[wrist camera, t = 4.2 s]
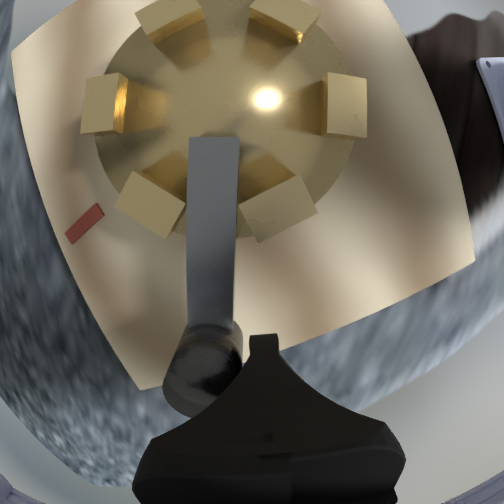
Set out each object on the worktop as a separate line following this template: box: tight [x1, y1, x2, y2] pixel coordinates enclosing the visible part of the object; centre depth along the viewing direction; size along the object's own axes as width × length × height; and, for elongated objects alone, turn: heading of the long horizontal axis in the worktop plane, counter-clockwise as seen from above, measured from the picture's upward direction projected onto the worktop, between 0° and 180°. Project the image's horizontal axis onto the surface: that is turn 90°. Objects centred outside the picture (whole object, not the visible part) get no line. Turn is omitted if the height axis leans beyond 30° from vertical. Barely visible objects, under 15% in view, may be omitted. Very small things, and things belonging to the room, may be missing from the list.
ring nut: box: [80, 0, 367, 418], centre depth 9 cm, size 10×15×6 cm, turn 177°
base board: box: [11, 0, 475, 390], centre depth 12 cm, size 20×22×2 cm
